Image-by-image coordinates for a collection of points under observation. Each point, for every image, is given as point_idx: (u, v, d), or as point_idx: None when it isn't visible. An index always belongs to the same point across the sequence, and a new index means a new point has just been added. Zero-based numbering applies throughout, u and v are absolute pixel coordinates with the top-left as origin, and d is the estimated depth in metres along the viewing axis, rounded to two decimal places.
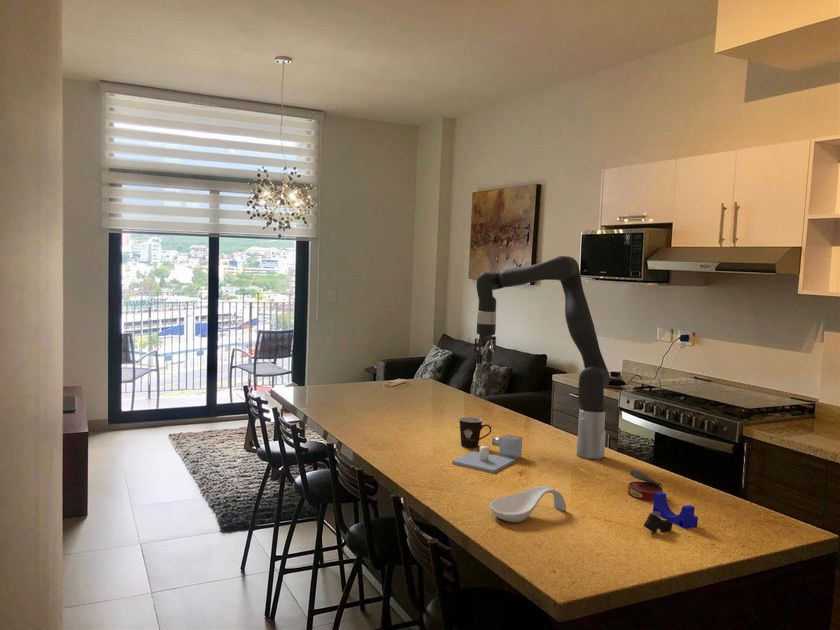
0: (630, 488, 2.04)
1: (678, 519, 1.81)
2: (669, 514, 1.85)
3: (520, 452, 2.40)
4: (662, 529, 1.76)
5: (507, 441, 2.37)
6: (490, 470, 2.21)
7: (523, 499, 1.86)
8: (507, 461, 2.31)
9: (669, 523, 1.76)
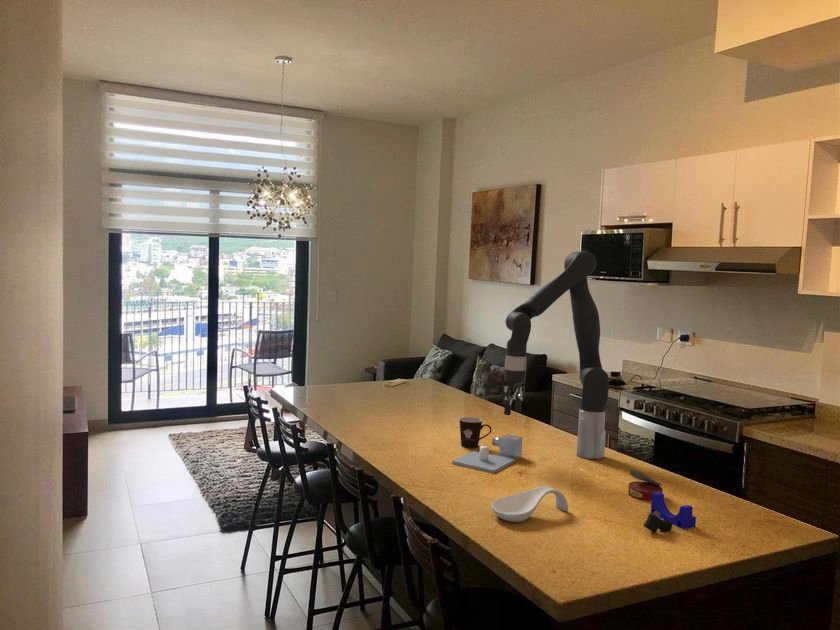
0: (630, 488, 2.04)
1: (676, 520, 1.81)
2: (667, 514, 1.85)
3: (520, 452, 2.40)
4: (662, 529, 1.76)
5: (507, 441, 2.37)
6: (490, 470, 2.21)
7: (525, 499, 1.86)
8: (507, 461, 2.31)
9: (669, 523, 1.76)
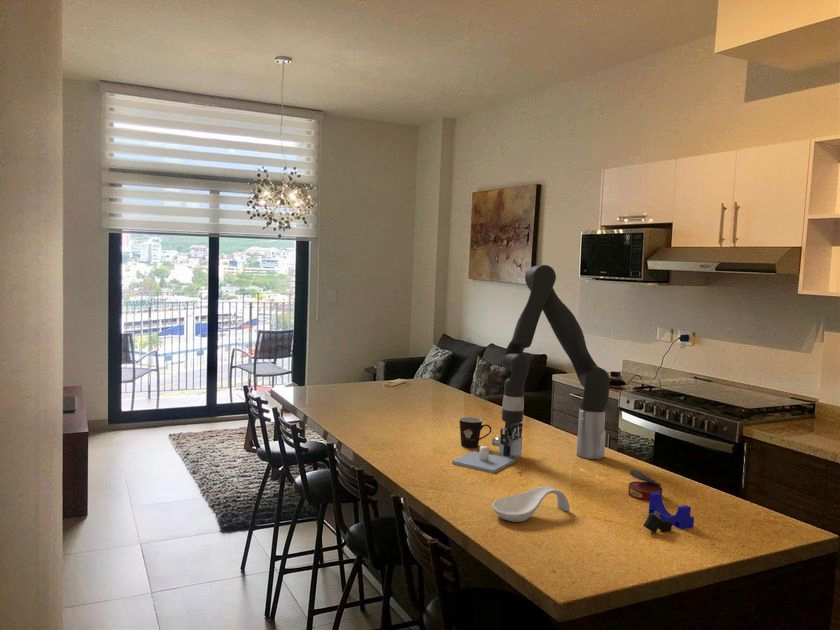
0: (630, 488, 2.04)
1: (674, 520, 1.81)
2: (665, 514, 1.85)
3: (520, 452, 2.40)
4: (662, 529, 1.76)
5: None
6: (490, 470, 2.21)
7: (526, 499, 1.86)
8: (507, 461, 2.31)
9: (669, 523, 1.77)
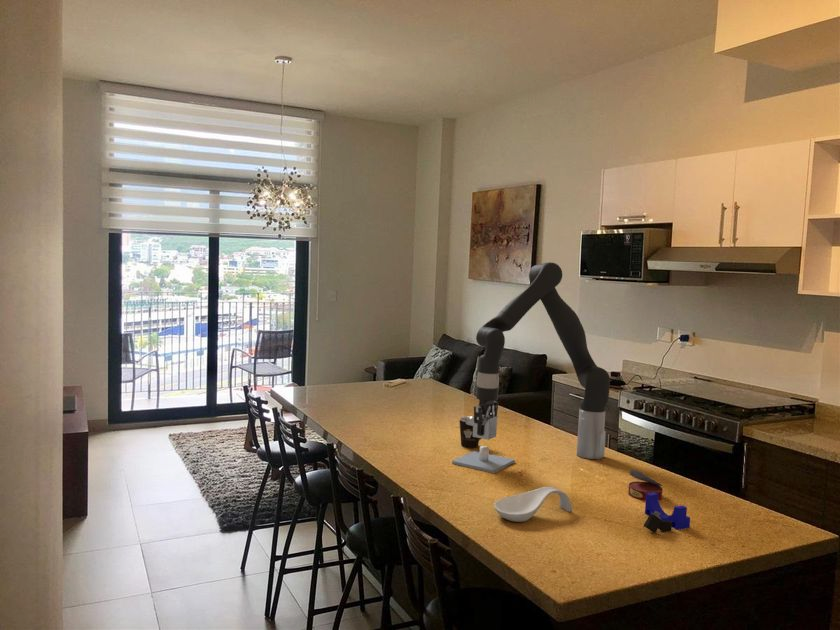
0: (630, 488, 2.04)
1: (670, 520, 1.80)
2: (661, 515, 1.85)
3: (495, 431, 2.30)
4: (662, 529, 1.76)
5: None
6: (490, 470, 2.21)
7: (528, 499, 1.86)
8: (507, 461, 2.31)
9: (669, 523, 1.76)
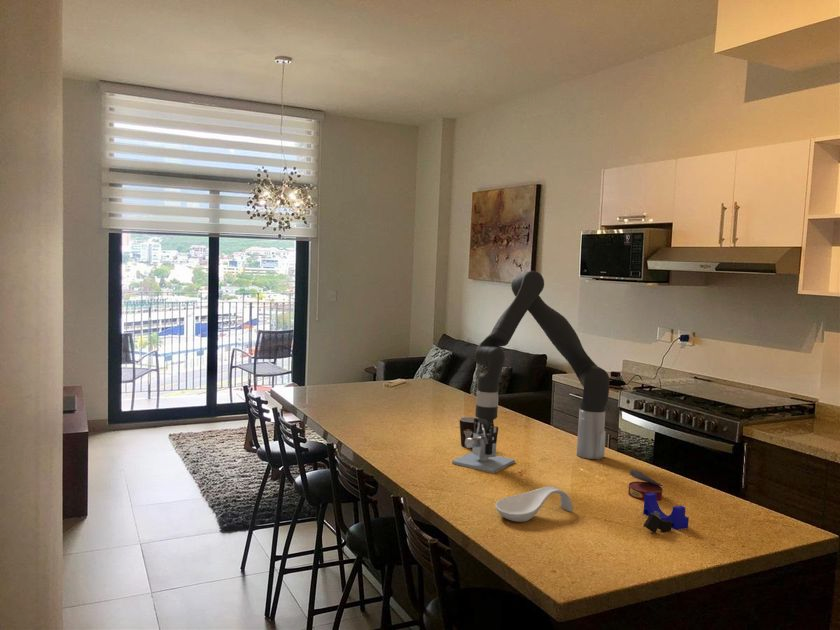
0: (630, 488, 2.04)
1: (669, 520, 1.80)
2: (660, 515, 1.85)
3: None
4: (662, 529, 1.76)
5: (488, 439, 2.27)
6: (490, 470, 2.21)
7: (529, 499, 1.86)
8: (507, 461, 2.31)
9: (669, 523, 1.76)
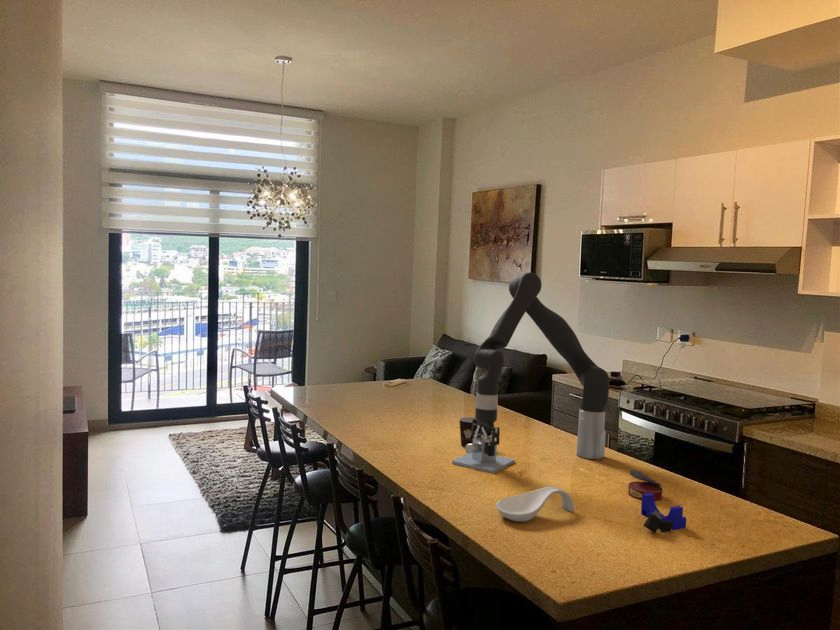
0: (630, 488, 2.04)
1: None
2: None
3: None
4: (662, 529, 1.76)
5: None
6: (490, 470, 2.21)
7: (530, 499, 1.86)
8: (507, 461, 2.31)
9: (669, 523, 1.76)
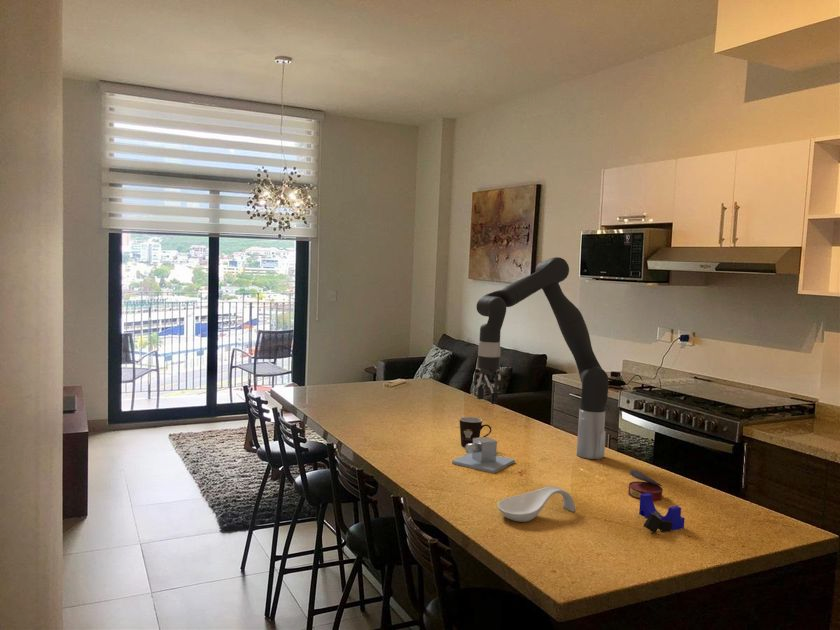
0: (630, 488, 2.04)
1: None
2: None
3: None
4: (662, 529, 1.76)
5: (488, 444, 2.28)
6: (490, 470, 2.21)
7: (531, 499, 1.86)
8: (507, 461, 2.31)
9: (669, 523, 1.76)
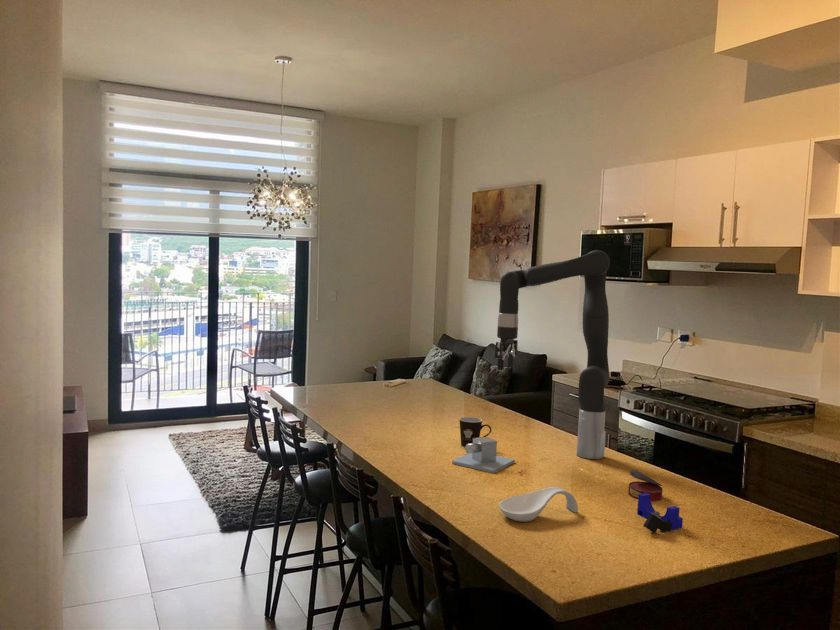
0: (630, 488, 2.04)
1: None
2: None
3: None
4: (662, 529, 1.76)
5: (488, 444, 2.28)
6: (490, 470, 2.21)
7: (534, 499, 1.86)
8: (507, 461, 2.31)
9: (669, 523, 1.76)
